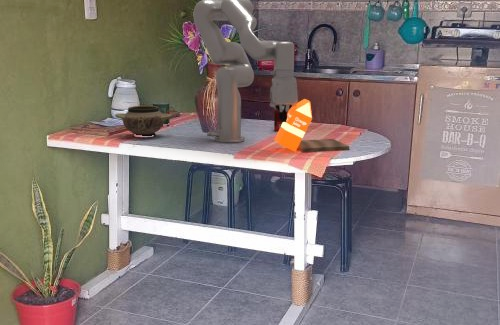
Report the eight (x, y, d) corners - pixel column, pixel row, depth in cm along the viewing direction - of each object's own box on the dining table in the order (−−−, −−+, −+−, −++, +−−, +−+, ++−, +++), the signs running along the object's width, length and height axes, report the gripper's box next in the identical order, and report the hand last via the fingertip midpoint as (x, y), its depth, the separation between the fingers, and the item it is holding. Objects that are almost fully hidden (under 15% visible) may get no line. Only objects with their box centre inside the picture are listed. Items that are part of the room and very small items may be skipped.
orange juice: (290, 147, 240) (313, 102, 238) (295, 152, 232) (319, 105, 229) (273, 139, 238) (296, 94, 236) (278, 143, 230) (301, 97, 227)
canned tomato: (173, 125, 289) (172, 103, 287) (159, 127, 284) (158, 104, 281) (163, 123, 295) (163, 101, 292) (150, 125, 289) (149, 102, 287)
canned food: (294, 131, 278) (295, 107, 275) (280, 132, 273) (281, 108, 271) (284, 128, 284) (284, 105, 281) (270, 130, 280) (271, 107, 277)
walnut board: (302, 152, 231) (302, 148, 231) (288, 144, 246) (288, 140, 246) (349, 149, 237) (349, 146, 236) (333, 142, 252) (333, 138, 251)
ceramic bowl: (174, 140, 267) (175, 106, 268) (169, 137, 250) (169, 101, 250) (119, 139, 267) (120, 106, 268) (110, 136, 250) (111, 101, 250)
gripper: (268, 75, 223) (267, 123, 227) (305, 74, 227) (304, 122, 231) (262, 73, 230) (261, 121, 234) (298, 73, 234) (297, 119, 238)
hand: (283, 121), depth 233 cm, fingers closed
